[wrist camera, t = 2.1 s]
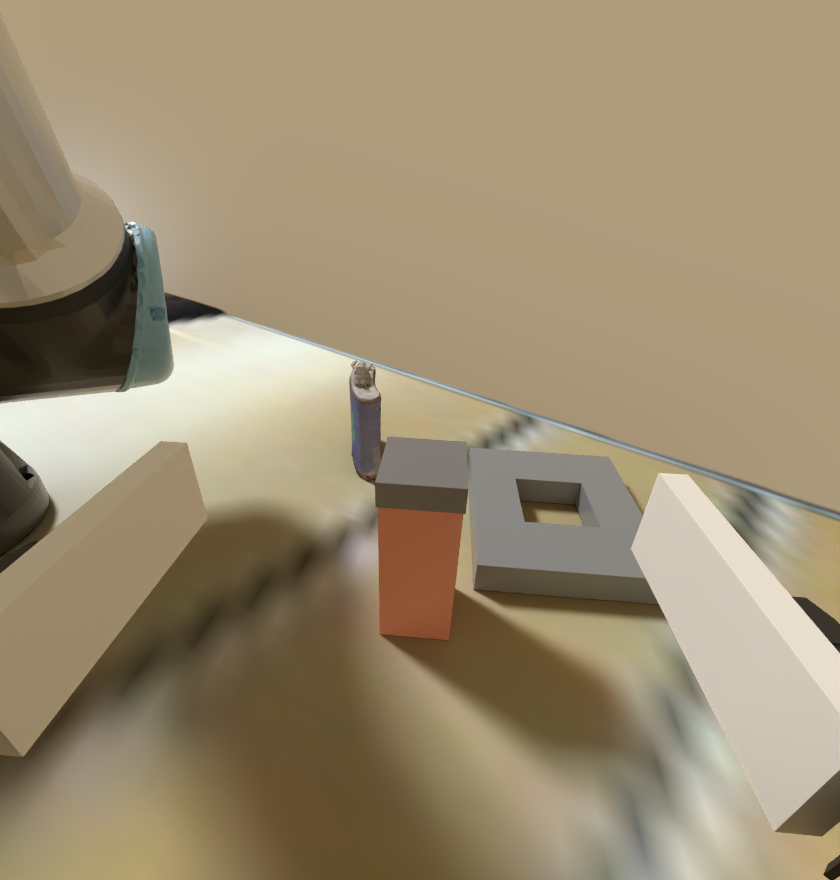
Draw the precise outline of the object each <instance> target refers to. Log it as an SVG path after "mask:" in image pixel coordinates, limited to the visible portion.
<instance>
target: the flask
mask: <svg viewBox="0 0 840 880" xmlns="http://www.w3.org/2000/svg"><path fill="white" fill-rule="evenodd" d="M357 362H358V361H353V362H352V363H351V366H352V368H353V371H352V373H351V376H350V382H349V384H350V403H351V425H352V429H351V430H352V457H353V461H354V465H355V469H356V472H357V474H358V475H359V476H360V478H362V479H366V480H370V478H371V479H373V478H375V479H376V478H377V474H378V470H379V467H380V463H381V442H380V439H381V433H380V425H381V423H380V419H381V406H380V405H381V396H380V393H379V392H378V390H377V388H376V386H375V367H374V366H372V364H371V363H370V365H367V364H366V363H364V362H363V361H360V362H359V363H358V364H357V365H356V366H355V364H356V363H357ZM353 366H355V367H353ZM366 476H368V477H370V478H368V477H366Z"/></svg>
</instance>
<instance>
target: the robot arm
mask: <svg viewBox="0 0 840 880" xmlns="http://www.w3.org/2000/svg"><path fill="white" fill-rule="evenodd" d="M173 367H174V362H173V353H172V346H171V339H170V332H169V325H168V318H167V312H166V303H165V295H164V288H163V280H162V274H161V267H160V260H159V253H158V247H157V241H156V236H155V234H154V232H153V231H152V230H151V229H150V228H148V227H147V226H142V225H137V224H136V223H134V222H125V223H123V220H122V217H121V215H120V213H119V211H118V209H117V208H116V206H115V204H114V202H113V200H112V199H111V198H110V197H109V196H108V195H107V193H106V192H105V191H103V190H102V189H101V188H100V187H99V186H98V185H96V184H95V183H93V182H92V181H91V180H89V179H87V178H86V177H84V176H82V175H81V174H79V173H77V172H75V171H73V170H71V169H70V167H69V165H68V163H67V160H66V158H65V156H64V154H63V152H62V150H61V147H60V145H59V143H58V140H57V138H56V136H55V134H54V131H53V129H52V127H51V125H50V123H49V120H48V118H47V116H46V114H45V111H44V109H43V107H42V105H41V103H40V100H39V98H38V96H37V94H36V91H35V89H34V87H33V85H32V83H31V80H30V78H29V76H28V73H27V71H26V69H25V67H24V65H23V63H22V60H21V58H20V56H19V53H18V51H17V49H16V47H15V45H14V42H13V40H12V38H11V36H10V33H9V31H8V29H7V27H6V24H5V22H4V20H3V18H2V15H1V13H0V403H8V402H17V401H26V400H36V399H45V398H55V397H65V396H75V395H84V394H94V393H104V392H113V391H116V392H125V391H127V390H129V388H136V387H142V386H148V385H154V384H159V383H161V382H163V381H165V380H166V379H168V378H169V376H170V375H171V374H172V371H173ZM48 506H49V495H48V493H47V491H46V489H45V487H44V485H43V483H42V481H41V479H40V477H39V475H38V474H37V472H36V471H35V470H34V469H33V468H32V467H31V466H29V465H28V464H27V463H26V462H25V461H24V460H22V459H21V458H20V457H19V456H18V455H17V454H15V453H14V452H13V451H12V450H11V449H10V448H8V447H7V446H6V445H5V444H4V443H3V442H1V441H0V555H1V554H2V553H4V552H5V551H7V550H8V549H10V548H11V547H13V546H14V545H15V544H17V543H18V542H19V541H20V540H22V539H23V538H24V537H25V536H26V535H28V534H29V533H30V532H31V531H32V530H33V529H34V528H35V527H36V526H37V524H38V523H39V522H40V521H41V519H42V518H43V517H44V515H45V513H46V511H47V509H48ZM207 519H208V518H207V514H206V511H205V507H204V504H203V500H202V496H201V493H200V489H199V485H198V482H197V478H196V474H195V471H194V467H193V463H192V460H191V456H190V452H189V449H188V445H187V443H179V442H164V441H161V442H159V443H158V444H157V445H156V446H154V447H153V448H152V449H151V450H150V451H148V452H147V453H146V454H145V455H144V456H142V457H141V458H140V459H139V460H137V461H136V462H135V463H134V464H133V465H131V466H130V467H129V468H128V469H127V470H125V471H124V472H123V473H122V474H120V475H119V476H118V477H117V478H116V479H114V480H113V481H112V482H111V483H110V484H108V485H107V486H106V487H105V488H103V489H102V490H101V491H100V492H99V493H97V494H96V495H95V496H94V497H93V498H91V499H90V500H89V501H88V502H86V503H85V504H84V505H83V506H82V507H80V508H79V509H78V510H77V511H76V512H74V513H73V514H72V515H71V516H69V517H68V518H67V519H66V520H65V521H63V522H62V523H61V524H60V525H59V526H57V527H56V528H55V529H54V530H52V531H51V532H50V533H49V534H48V535H46V536H45V537H44V538H43V539H42V540H40V541H34V542H32V543H30V544H28V545H26V546H24V547H22V548H21V549H19V550H17V551H15V552H13V553H11V554H9V555H8V556H6V557H4V558H3V559H2V560H0V755H7V756H17V757H24V755H25V754H26V753H27V751H28V750H29V749H30V748H31V746H32V745H33V744H34V742H35V741H36V740H37V739H38V737H39V736H40V735H41V733H42V732H43V731H44V730H45V728H46V727H47V726H48V724H49V723H50V722H51V720H52V719H53V718H54V717H55V715H56V714H57V713H58V711H59V710H60V709H61V708H62V706H63V705H64V704H65V702H66V701H67V700H68V698H69V697H70V696H71V695H72V693H73V692H74V691H75V689H76V688H77V687H78V686H79V684H80V683H81V682H82V680H83V679H84V678H85V676H86V675H87V674H88V673H89V671H90V670H91V669H92V667H93V666H94V665H95V664H96V662H97V661H98V660H99V658H100V657H101V656H102V655H103V653H104V652H105V651H106V649H107V648H108V647H109V645H110V644H111V643H112V642H113V640H114V639H115V638H116V636H117V635H118V634H119V633H120V631H121V630H122V629H123V627H124V626H125V625H126V623H127V622H128V621H129V620H130V618H131V617H132V616H133V614H134V613H135V612H136V611H137V609H138V608H139V607H140V605H141V604H142V603H143V601H144V600H145V599H146V598H147V596H148V595H149V594H150V592H151V591H152V590H153V589H154V587H155V586H156V585H157V583H158V582H159V581H160V579H161V578H162V577H163V576H164V574H165V573H166V572H167V570H168V569H169V568H170V567H171V565H172V564H173V563H174V561H175V560H176V559H177V558H178V556H179V555H180V554H181V552H182V551H183V550H184V548H185V547H186V546H187V545H188V543H189V542H190V541H191V539H192V538H193V537H194V536H195V534H196V533H197V532H198V530H199V529H200V528H201V526H202V525H203V524H204V523H205V521H206V520H207ZM631 550H632V552H633V554H634V556H635V558H636V560H637V562H638V564H639V566H640V568H641V570H642V572H643V574H644V576H645V578H646V580H647V582H648V584H649V586H650V588H651V590H652V592H653V594H654V596H655V598H656V599H657V601H658V603H659V605H660V607H661V609H662V611H663V613H664V615H665V617H666V619H667V621H668V623H669V625H670V627H671V629H672V631H673V633H674V635H675V637H676V639H677V641H678V643H679V645H680V647H681V649H682V651H683V653H684V655H685V657H686V659H687V661H688V663H689V665H690V667H691V669H692V671H693V672H694V674H695V676H696V678H697V680H698V682H699V684H700V686H701V688H702V690H703V692H704V694H705V696H706V698H707V700H708V702H709V704H710V706H711V708H712V710H713V712H714V714H715V716H716V718H717V720H718V722H719V724H720V726H721V728H722V730H723V732H724V734H725V736H726V738H727V740H728V742H729V743H730V745H731V747H732V749H733V751H734V753H735V755H736V757H737V759H738V761H739V763H740V765H741V767H742V769H743V771H744V773H745V775H746V777H747V779H748V781H749V783H750V785H751V787H752V789H753V791H754V793H755V795H756V797H757V799H758V801H759V803H760V805H761V807H762V809H763V811H764V813H765V815H766V816H767V818H768V820H769V822H770V824H771V826H772V828H773V830H774V832H782V833H792V834H802V835H812V836H823V835H824V834H825V833H827V832H828V831H829V830H830V829H831V828H833V827H834V826H835V825H836V824H837V823H839V822H840V624H839V623H838V622H837V621H836V620H835V619H834V618H832V617H831V616H830V615H828V614H827V613H826V612H824V611H823V610H822V609H820V608H819V607H818V606H816V605H815V604H814V603H812V602H811V601H810V600H808V599H807V598H803V597H791V595H790V594H789V593H788V592H787V591H786V590H785V588H784V587H783V586H782V585H781V584H780V582H779V581H778V580H777V579H776V578H775V577H774V575H773V574H772V573H771V572H770V571H769V570H768V568H767V567H766V566H765V565H764V564H763V563H762V561H761V560H760V559H759V558H758V557H757V555H756V554H755V553H754V552H753V551H752V550H751V548H750V547H749V546H748V545H747V544H746V543H745V541H744V540H743V539H742V538H741V537H740V535H739V534H738V533H737V532H736V531H735V530H734V528H733V527H732V526H731V525H730V524H729V523H728V521H727V520H726V519H725V518H724V517H723V515H722V514H721V513H720V512H719V511H718V510H717V508H716V507H715V506H714V505H713V504H712V503H711V501H710V500H709V499H708V498H707V497H706V496H705V494H704V493H703V492H702V491H701V490H700V488H699V487H698V486H697V485H696V484H695V483H694V481H693V480H692V479H691V478H690V477H689V476H688V475H682V474H666V473H659V474H658V477H657V480H656V482H655V485H654V488H653V490H652V493H651V496H650V498H649V501H648V504H647V507H646V509H645V512H644V515H643V517H642V520H641V523H640V525H639V528H638V531H637V534H636V536H635V539H634V542H633V544H632V547H631ZM823 875H824V876H826V877H827V878H828V879H830V880H835V879H836V878H837V877H839V876H840V855H839V856H838V857H837V858H835V859H834V860H833V861H831V862H830V863H829V864H828V865H827V868H826V870H825V872H824V874H823Z"/></svg>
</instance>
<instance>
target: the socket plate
mask: <svg viewBox="0 0 840 880" xmlns="http://www.w3.org/2000/svg"><path fill="white" fill-rule="evenodd" d="M468 482H469V503H470V523H471V544H472V564H473V585H474V590H486V591H498V592H511V593H523V594H535V595H548V596H560V597H572V598H584V599H597V600H609V601H621V602H634V603H646V604H658V605H659V603H658V601H657V599H656V598H655V596H654V594H653V592H652V590H651V588H650V586H649V584H648V582H647V580H646V578H645V576H644V574H643V572H642V570H641V568H640V566H639V564H638V562H637V560H636V558H635V556H634V554H633V552H632V550H631V547H632V544H633V542H634V539H635V536H636V534H637V531H638V528H639V525H640V523H641V520H642V517H643V515H642V513H641V511H640V509H639V508H638V506H637V504H636V503H635V501H634V499H633V498H632V496H631V494H630V492H629V491H628V489H627V487H626V486H625V484H624V482H623V481H622V479H621V477H620V475H619V474H618V472H617V470H616V469H615V467H614V465H613V463H612V462H611V460H610V458H609V457H601V456H586V455H571V454H556V453H541V452H526V451H512V450H497V449H482V448H470V453H469V462H468ZM520 501H531V502H544V503H558V504H572V505H576V508H577V510H578V513H579V515H580V518H581V520H582V523H583V526H574V525H560V524H547V523H533V522H525V521H524V517H523V512H522V507H521V503H520Z"/></svg>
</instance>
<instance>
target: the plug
mask: <svg viewBox="0 0 840 880" xmlns="http://www.w3.org/2000/svg"><path fill="white" fill-rule="evenodd" d="M467 496H468V473H467V451H466V442H459V441H444V440H429V439H414V438H399V437H388V438H387V441H386V445H385V448H384V452H383V456H382V459H381V463H380V467H379V470H378V474H377V478H376V481H375V500H376V507H378V545H379V603H380V634H382V635H394V636H406V637H417V638H429V639H440V640H449V637H450V628H451V619H452V610H453V601H454V592H455V583H456V575H457V566H458V557H459V548H460V539H461V530H462V521H463V514H465V513H466V504H467Z"/></svg>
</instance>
